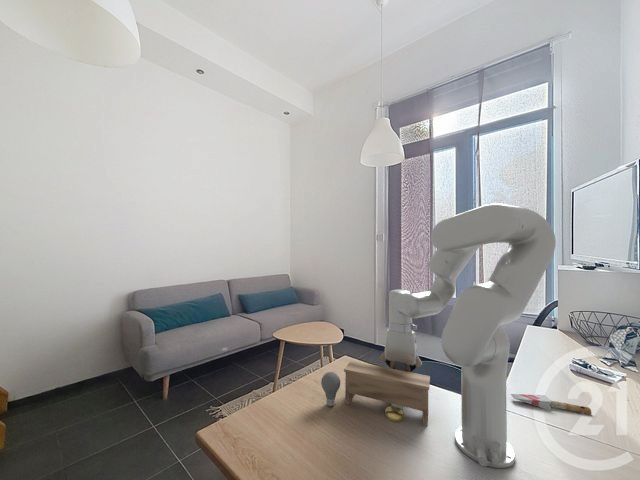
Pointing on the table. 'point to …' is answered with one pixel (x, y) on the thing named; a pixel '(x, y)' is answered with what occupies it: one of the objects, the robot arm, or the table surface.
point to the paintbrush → (549, 403)
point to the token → (394, 414)
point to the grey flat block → (401, 367)
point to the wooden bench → (387, 386)
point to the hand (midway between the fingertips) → (400, 381)
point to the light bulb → (330, 386)
